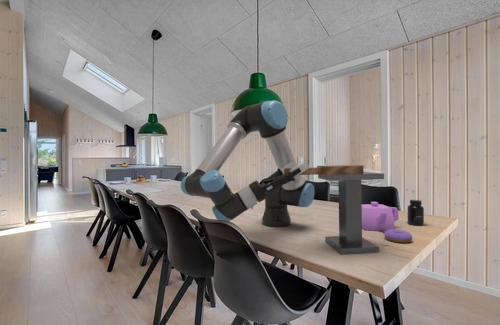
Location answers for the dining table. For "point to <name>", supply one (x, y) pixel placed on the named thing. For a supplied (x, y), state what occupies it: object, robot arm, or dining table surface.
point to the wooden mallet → (331, 170)
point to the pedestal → (351, 214)
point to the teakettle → (378, 217)
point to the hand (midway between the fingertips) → (301, 164)
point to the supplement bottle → (415, 213)
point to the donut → (398, 236)
